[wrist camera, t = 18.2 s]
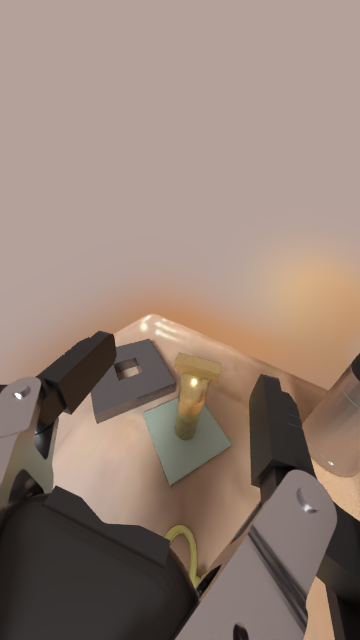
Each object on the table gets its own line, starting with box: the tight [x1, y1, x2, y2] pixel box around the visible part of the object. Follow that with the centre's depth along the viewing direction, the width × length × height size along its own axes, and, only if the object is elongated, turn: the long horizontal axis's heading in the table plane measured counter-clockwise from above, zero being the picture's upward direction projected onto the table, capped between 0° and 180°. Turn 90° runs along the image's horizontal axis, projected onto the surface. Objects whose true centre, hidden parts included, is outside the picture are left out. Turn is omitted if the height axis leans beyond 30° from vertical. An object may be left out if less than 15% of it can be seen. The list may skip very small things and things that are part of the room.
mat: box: [143, 398, 232, 486], centre depth 34 cm, size 12×12×1 cm
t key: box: [174, 353, 222, 440], centre depth 29 cm, size 6×4×17 cm, turn 74°
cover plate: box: [91, 339, 176, 424], centre depth 42 cm, size 16×16×3 cm
